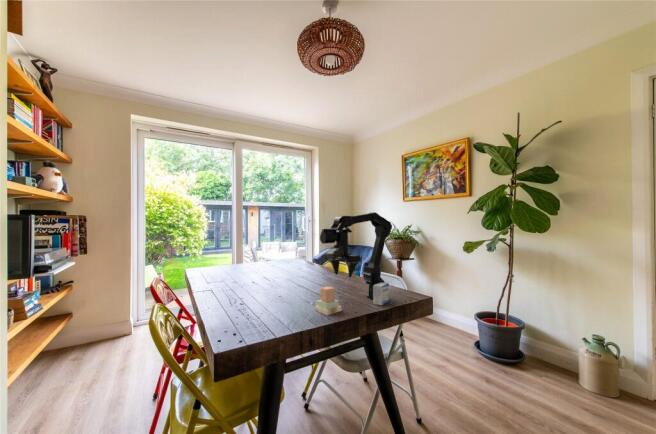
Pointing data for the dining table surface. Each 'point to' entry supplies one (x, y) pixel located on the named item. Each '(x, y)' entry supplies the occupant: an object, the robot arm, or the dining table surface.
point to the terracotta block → (327, 294)
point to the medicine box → (381, 293)
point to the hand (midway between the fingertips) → (343, 275)
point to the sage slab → (328, 304)
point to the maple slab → (329, 310)
